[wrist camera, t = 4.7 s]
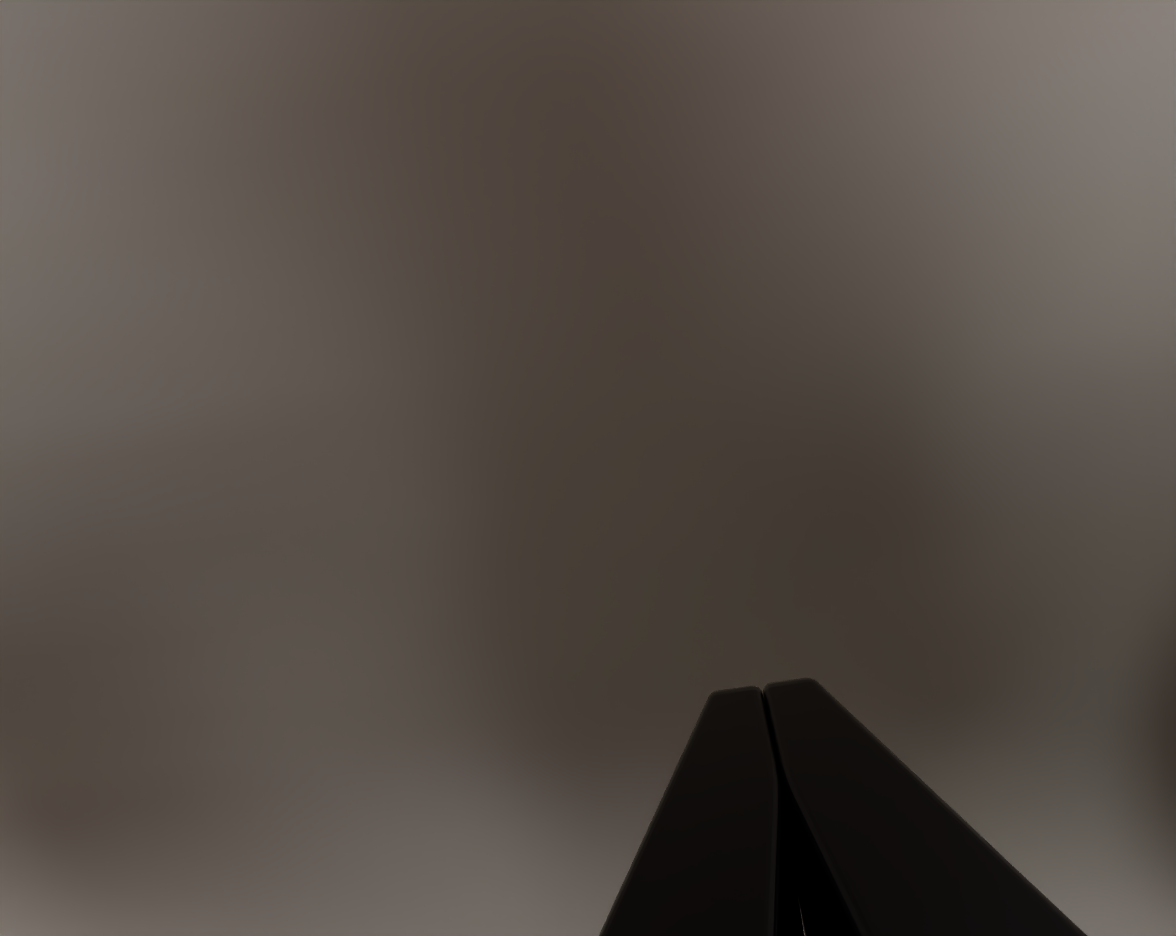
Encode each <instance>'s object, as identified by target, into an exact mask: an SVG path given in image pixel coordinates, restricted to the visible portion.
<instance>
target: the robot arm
mask: <svg viewBox="0 0 1176 936" xmlns="http://www.w3.org/2000/svg"><path fill="white" fill-rule="evenodd" d="M802 922H803V924H802ZM803 928H804V931H803ZM804 933H805V936H1087V935H1086V934H1085V933H1084V932H1083V931H1082V930H1080V929H1079V928H1078V927H1077V926H1076V925H1075V924H1074V923H1073V922H1072V921H1071V920H1070V919H1069V918H1068V917H1067V916H1066V915H1065V914H1063V913H1062V912H1061V911H1060V910H1059V909H1058V908H1057V907H1056V906H1055V905H1054V904H1053V903H1052V902H1051V901H1050V900H1049V899H1048V898H1046V897H1045V896H1044V895H1043V894H1042V893H1041V892H1040V891H1039V890H1038V889H1037V888H1036V887H1035V886H1034V885H1033V884H1032V883H1031V882H1029V881H1028V880H1027V879H1026V878H1025V877H1024V876H1023V875H1022V874H1021V873H1020V872H1019V871H1018V870H1017V869H1016V868H1015V867H1014V866H1012V865H1011V864H1010V863H1009V862H1008V861H1007V860H1006V859H1005V858H1004V857H1003V856H1002V855H1001V854H1000V853H999V852H998V851H997V850H995V849H994V848H993V847H992V846H991V845H990V844H989V843H988V842H987V841H986V840H985V839H984V838H983V837H982V836H981V835H980V834H978V833H977V832H976V831H975V830H974V829H973V828H972V827H971V826H970V825H969V824H968V823H967V822H966V821H965V820H964V819H962V818H961V817H960V816H959V815H958V814H957V813H956V812H955V811H954V810H953V809H952V808H951V807H950V806H949V805H948V804H947V803H945V802H944V801H943V800H942V799H941V798H940V797H939V796H938V795H937V794H936V793H935V792H934V791H933V790H932V789H931V788H930V787H928V786H927V785H926V784H925V783H924V782H923V781H922V780H921V779H920V778H919V777H918V776H917V775H916V774H915V773H914V772H913V771H911V770H910V769H909V768H908V767H907V766H906V765H905V764H904V763H903V762H902V761H901V760H900V759H899V758H898V757H897V756H896V755H894V754H893V753H892V752H891V751H890V750H889V749H888V748H887V747H886V746H885V745H884V744H883V743H882V742H881V741H880V740H879V739H877V738H876V737H875V736H874V735H873V734H872V733H871V732H870V731H869V730H868V729H867V728H866V727H865V726H864V725H863V724H862V723H860V722H859V721H858V720H857V719H856V718H855V717H854V716H853V715H852V714H851V713H850V712H849V711H848V710H847V709H846V708H844V707H843V706H842V705H841V704H840V703H839V702H838V701H837V700H836V699H835V698H834V697H833V696H832V695H831V694H830V693H829V692H827V691H826V690H825V689H824V688H823V687H822V686H821V685H820V684H819V683H818V682H817V681H816V680H814V679H811V678H801V679H794V680H787V681H780V682H773V683H769V684H767V685H766V686H765V687H764V690H763V694H762V691H761V690H760V689H759V687H756V686H746V687H739V688H732V689H725V690H718V691H715V692H713V693H711V694H710V695H709V697H708V699H707V701H706V703H705V705H704V707H703V710H702V712H701V714H700V716H699V718H698V720H697V723H696V725H695V727H694V729H693V731H692V734H691V736H690V738H689V740H688V742H687V744H686V747H685V749H684V751H683V753H682V755H681V758H680V760H679V762H678V764H677V766H676V768H675V771H674V773H673V775H672V777H671V779H670V782H669V784H668V786H667V788H666V790H665V792H664V795H663V797H662V799H661V801H660V803H659V806H658V808H657V810H656V812H655V814H654V816H653V819H652V821H651V823H650V825H649V827H648V830H647V832H646V834H645V836H644V838H643V840H642V843H641V845H640V847H639V849H638V851H637V854H636V856H635V858H634V860H633V862H632V864H631V867H630V869H629V871H628V873H627V875H626V878H625V880H624V882H623V884H622V886H621V888H620V891H619V893H618V895H617V897H616V899H615V902H614V904H613V906H612V908H611V910H610V912H609V915H608V917H607V919H606V921H605V923H604V925H603V928H602V930H601V932H600V934H599V936H804Z"/></svg>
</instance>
